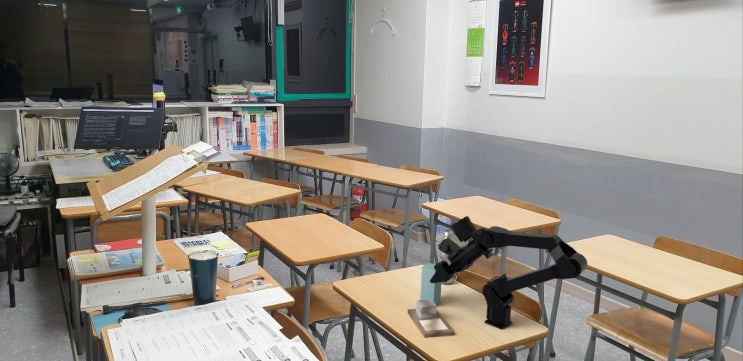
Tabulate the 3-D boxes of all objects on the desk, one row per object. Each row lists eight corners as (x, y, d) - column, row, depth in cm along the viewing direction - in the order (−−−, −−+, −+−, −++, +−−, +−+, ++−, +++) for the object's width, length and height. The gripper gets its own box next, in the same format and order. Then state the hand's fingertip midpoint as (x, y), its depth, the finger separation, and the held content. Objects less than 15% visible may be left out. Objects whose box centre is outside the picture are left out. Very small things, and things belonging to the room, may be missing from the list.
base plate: (433, 310, 173) (434, 295, 172) (453, 335, 157) (454, 318, 156) (407, 312, 171) (408, 297, 170) (424, 337, 155) (425, 320, 154)
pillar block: (440, 302, 180) (442, 266, 177) (433, 307, 176) (435, 270, 173) (427, 298, 183) (429, 262, 180) (420, 303, 179) (421, 266, 176)
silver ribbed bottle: (433, 280, 200) (436, 229, 196) (449, 278, 202) (452, 227, 198) (441, 286, 194) (444, 234, 190) (457, 284, 196) (461, 232, 193)
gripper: (467, 226, 178) (436, 251, 186) (441, 239, 163) (408, 265, 171) (487, 254, 175) (455, 277, 183) (463, 269, 160) (429, 294, 168)
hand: (437, 278), depth 176 cm, fingers open, 9 cm apart
